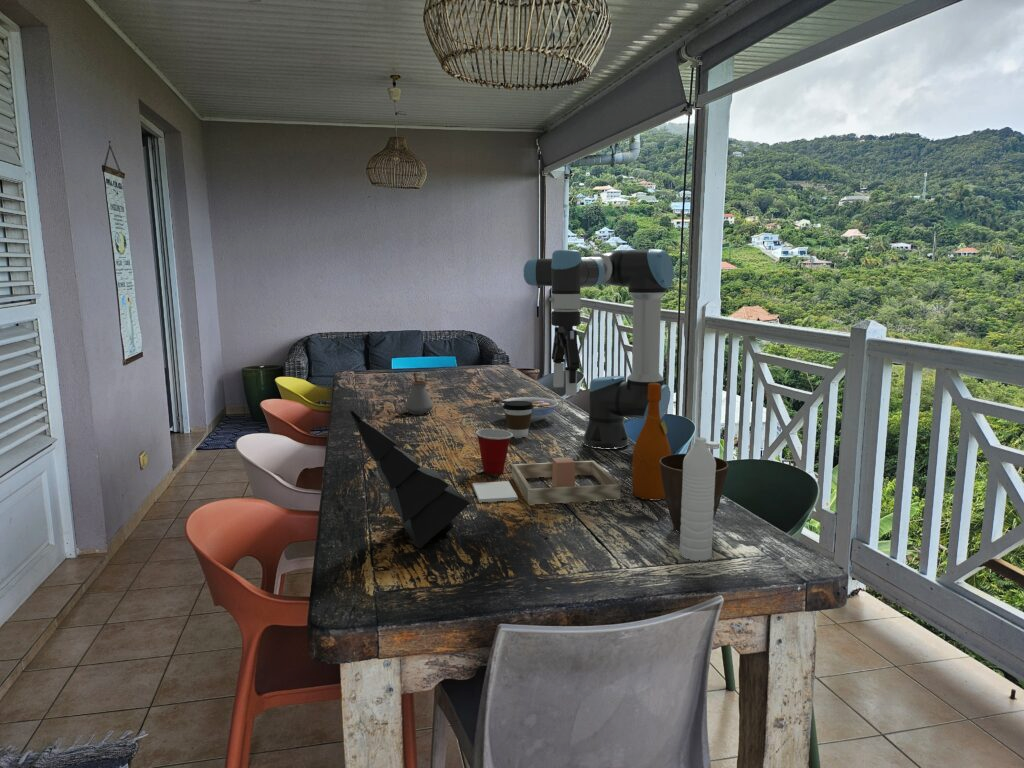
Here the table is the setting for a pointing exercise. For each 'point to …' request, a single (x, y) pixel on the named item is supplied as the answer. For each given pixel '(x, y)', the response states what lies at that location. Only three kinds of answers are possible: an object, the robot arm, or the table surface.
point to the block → (563, 472)
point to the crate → (565, 494)
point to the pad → (494, 491)
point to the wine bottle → (650, 450)
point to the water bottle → (698, 501)
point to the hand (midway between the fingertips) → (564, 391)
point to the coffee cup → (518, 417)
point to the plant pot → (673, 483)
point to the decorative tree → (412, 487)
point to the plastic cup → (493, 449)
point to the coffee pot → (419, 398)
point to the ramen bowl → (535, 406)
